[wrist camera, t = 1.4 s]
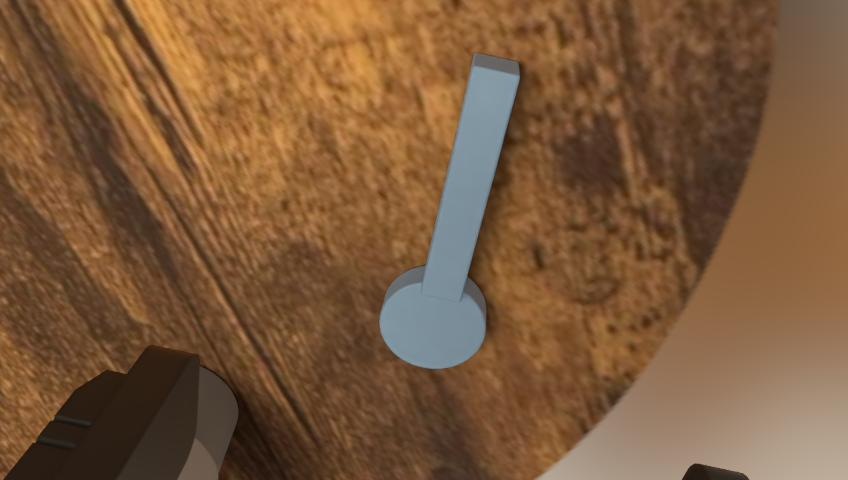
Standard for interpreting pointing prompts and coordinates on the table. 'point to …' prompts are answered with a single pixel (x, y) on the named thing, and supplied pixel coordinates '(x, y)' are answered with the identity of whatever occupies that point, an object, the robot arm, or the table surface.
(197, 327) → the table surface
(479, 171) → the spoon
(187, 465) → the cup
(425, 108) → the table surface
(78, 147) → the table surface
